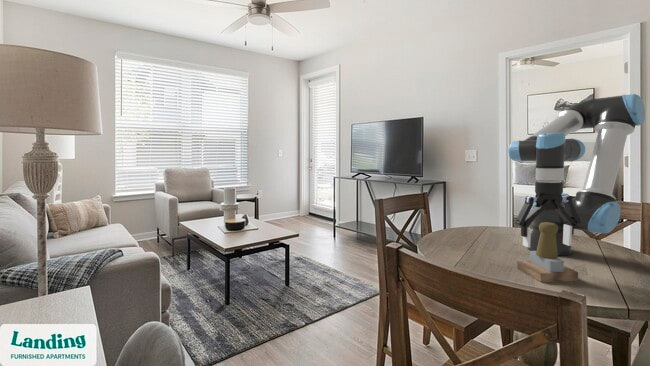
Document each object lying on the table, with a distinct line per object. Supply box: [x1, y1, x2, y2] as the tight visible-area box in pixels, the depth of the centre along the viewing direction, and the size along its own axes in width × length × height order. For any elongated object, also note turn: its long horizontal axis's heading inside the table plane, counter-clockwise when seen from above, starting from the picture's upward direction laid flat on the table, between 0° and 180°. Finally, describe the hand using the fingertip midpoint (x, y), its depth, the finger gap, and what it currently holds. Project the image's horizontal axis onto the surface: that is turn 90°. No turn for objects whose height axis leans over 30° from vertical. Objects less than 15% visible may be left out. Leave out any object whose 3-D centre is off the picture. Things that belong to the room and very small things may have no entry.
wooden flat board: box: [516, 259, 579, 283], centre depth 109 cm, size 12×12×4 cm
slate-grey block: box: [529, 250, 565, 272], centre depth 109 cm, size 4×11×4 cm, turn 178°
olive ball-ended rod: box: [536, 222, 559, 259], centre depth 108 cm, size 6×6×11 cm
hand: (546, 245), depth 108 cm, fingers open, 13 cm apart
